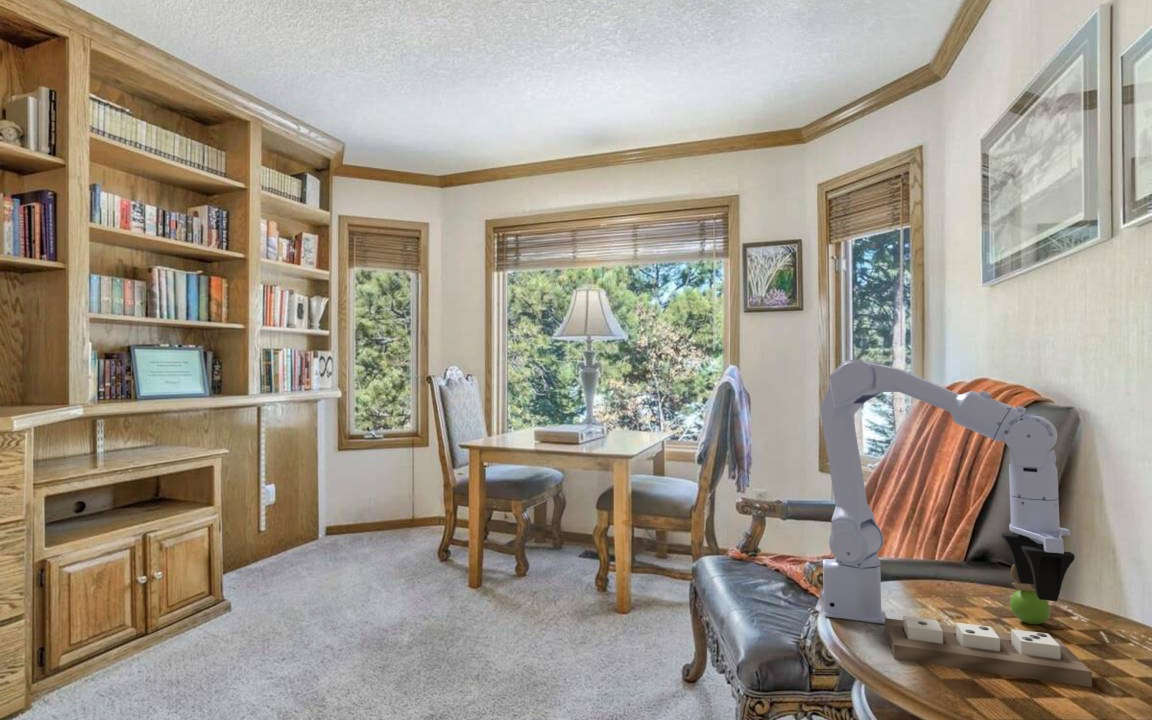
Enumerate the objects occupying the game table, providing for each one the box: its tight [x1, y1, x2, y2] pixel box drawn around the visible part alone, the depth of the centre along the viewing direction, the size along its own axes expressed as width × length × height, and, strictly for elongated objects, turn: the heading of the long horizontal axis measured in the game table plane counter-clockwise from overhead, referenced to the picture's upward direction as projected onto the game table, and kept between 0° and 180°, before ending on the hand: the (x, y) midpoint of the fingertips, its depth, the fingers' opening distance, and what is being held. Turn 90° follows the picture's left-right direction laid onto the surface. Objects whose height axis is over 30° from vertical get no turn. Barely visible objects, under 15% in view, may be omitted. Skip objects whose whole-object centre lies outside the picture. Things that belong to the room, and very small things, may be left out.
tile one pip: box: [902, 616, 943, 644], centre depth 90 cm, size 4×4×3 cm
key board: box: [884, 617, 1093, 688], centre depth 88 cm, size 23×11×2 cm, turn 69°
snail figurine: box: [1009, 563, 1051, 625], centre depth 100 cm, size 5×6×12 cm
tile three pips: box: [1010, 628, 1061, 659], centre depth 85 cm, size 4×4×3 cm
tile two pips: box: [955, 622, 1000, 651], centre depth 88 cm, size 4×4×3 cm
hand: (1037, 591), depth 87 cm, fingers open, 7 cm apart
